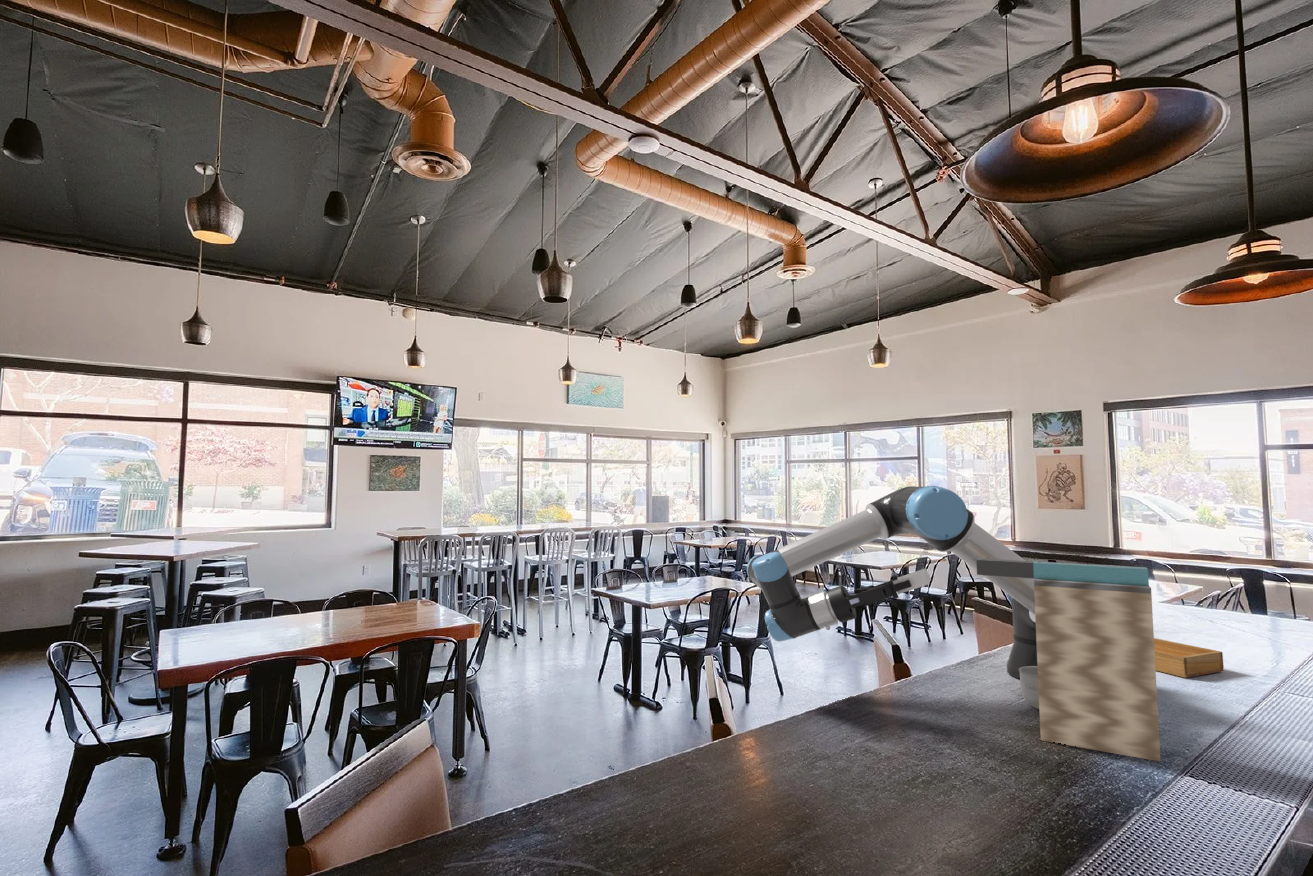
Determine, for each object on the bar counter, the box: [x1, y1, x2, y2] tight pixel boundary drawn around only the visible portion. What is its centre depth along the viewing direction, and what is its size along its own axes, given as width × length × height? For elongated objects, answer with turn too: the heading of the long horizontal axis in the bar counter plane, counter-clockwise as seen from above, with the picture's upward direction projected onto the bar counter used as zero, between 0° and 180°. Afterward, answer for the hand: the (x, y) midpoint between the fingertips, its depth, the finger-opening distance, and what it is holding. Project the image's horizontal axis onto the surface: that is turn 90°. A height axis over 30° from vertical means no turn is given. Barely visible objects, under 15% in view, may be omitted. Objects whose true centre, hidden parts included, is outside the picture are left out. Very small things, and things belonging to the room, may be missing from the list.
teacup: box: [1019, 666, 1039, 710], centre depth 138 cm, size 14×11×8 cm
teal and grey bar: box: [976, 558, 1150, 586], centre depth 124 cm, size 28×3×3 cm, turn 59°
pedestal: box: [1034, 579, 1162, 762], centre depth 121 cm, size 18×8×30 cm, turn 59°
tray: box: [1154, 637, 1225, 678], centre depth 175 cm, size 31×15×6 cm, turn 20°
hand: (927, 575), depth 136 cm, fingers open, 13 cm apart
